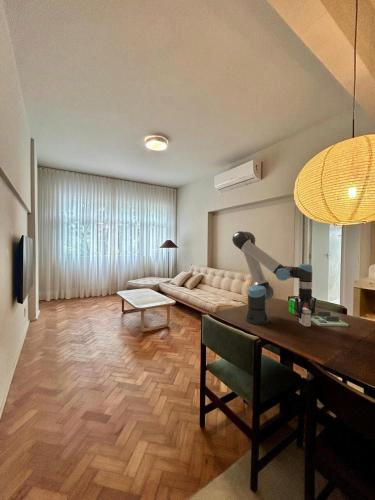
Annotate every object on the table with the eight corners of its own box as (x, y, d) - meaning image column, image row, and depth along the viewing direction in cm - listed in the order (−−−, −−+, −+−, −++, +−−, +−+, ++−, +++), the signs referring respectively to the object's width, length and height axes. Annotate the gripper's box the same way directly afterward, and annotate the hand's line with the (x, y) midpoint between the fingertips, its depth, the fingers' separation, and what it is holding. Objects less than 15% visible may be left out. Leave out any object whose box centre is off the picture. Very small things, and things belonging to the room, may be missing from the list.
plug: (304, 326, 138) (304, 310, 138) (298, 321, 146) (298, 306, 146) (310, 326, 138) (311, 310, 138) (304, 321, 146) (304, 307, 146)
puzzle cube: (308, 315, 159) (308, 302, 159) (294, 315, 159) (294, 302, 159) (301, 311, 169) (301, 298, 169) (288, 311, 169) (288, 298, 169)
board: (319, 325, 139) (319, 319, 138) (306, 316, 155) (306, 311, 155) (348, 326, 138) (348, 319, 137) (332, 317, 155) (332, 311, 154)
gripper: (294, 288, 137) (294, 325, 138) (322, 289, 137) (321, 325, 137) (289, 286, 145) (289, 320, 146) (315, 286, 144) (315, 321, 145)
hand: (304, 323), depth 141 cm, fingers closed on plug, 4 cm apart
